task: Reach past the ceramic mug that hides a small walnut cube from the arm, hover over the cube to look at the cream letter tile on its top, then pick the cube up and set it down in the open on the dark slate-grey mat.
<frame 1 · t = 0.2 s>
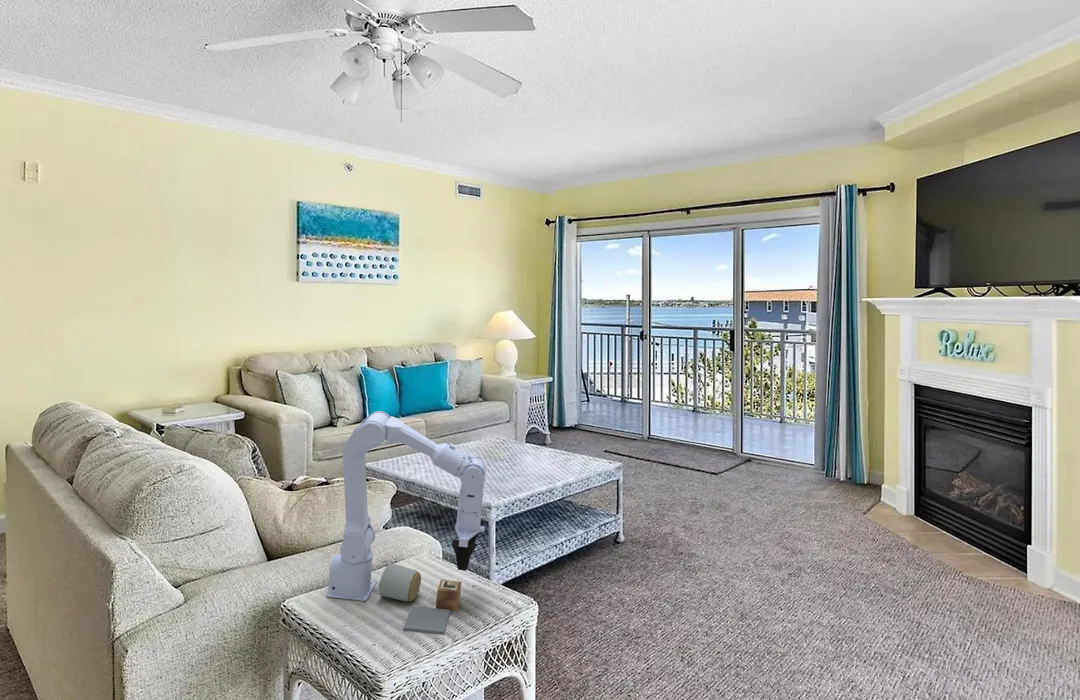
hand: (464, 562, 152), 10 cm above the table, tool pointing down, fingers open, 7 cm apart
ceramic mug: (400, 595, 153), on the table
slate mat: (427, 620, 143), on the table
letter cube: (447, 605, 150), on the table
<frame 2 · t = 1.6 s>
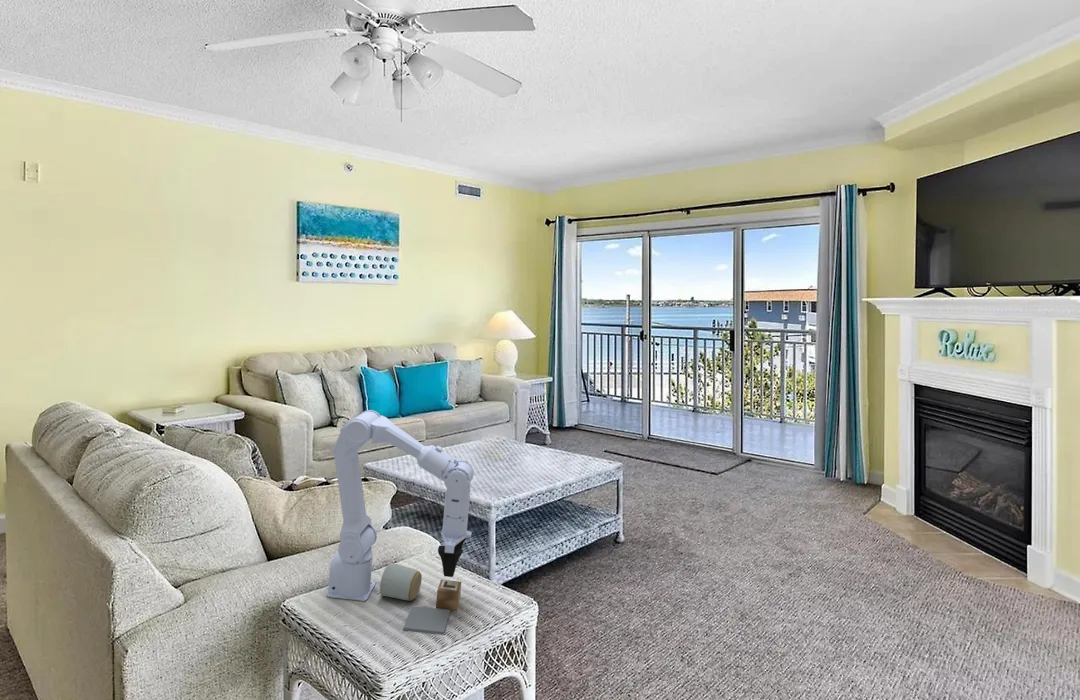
hand: (451, 568, 149), 9 cm above the table, tool pointing down, fingers open, 7 cm apart
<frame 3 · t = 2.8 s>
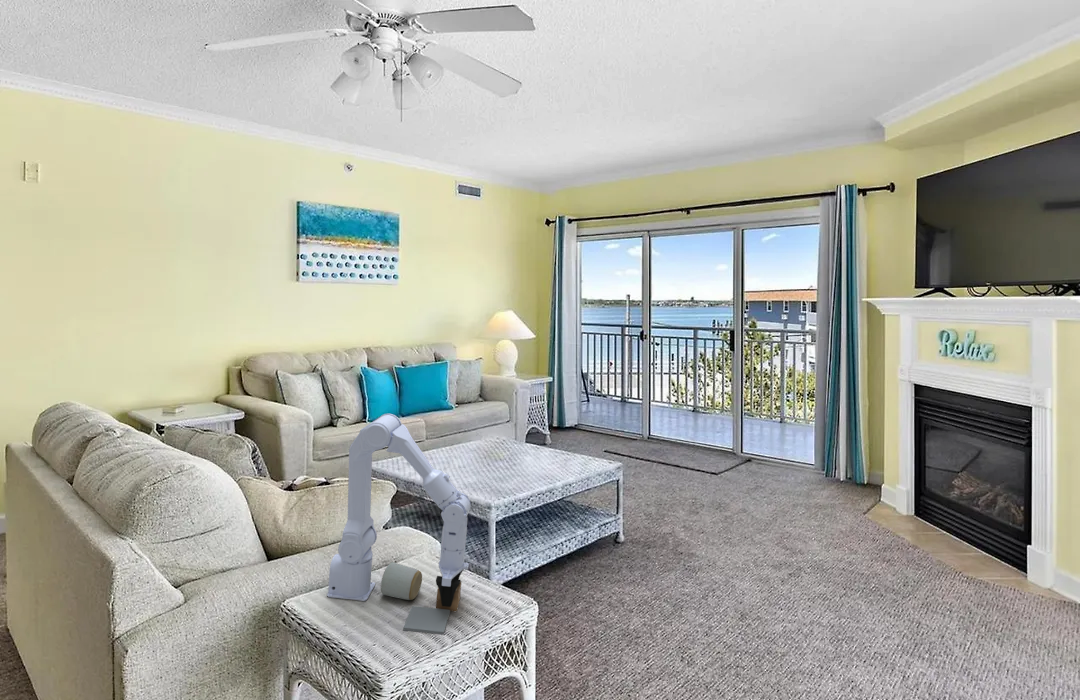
hand: (448, 599, 150), 1 cm above the table, tool pointing down, fingers closed on letter cube, 5 cm apart
letter cube: (447, 605, 150), on the table, touching gripper
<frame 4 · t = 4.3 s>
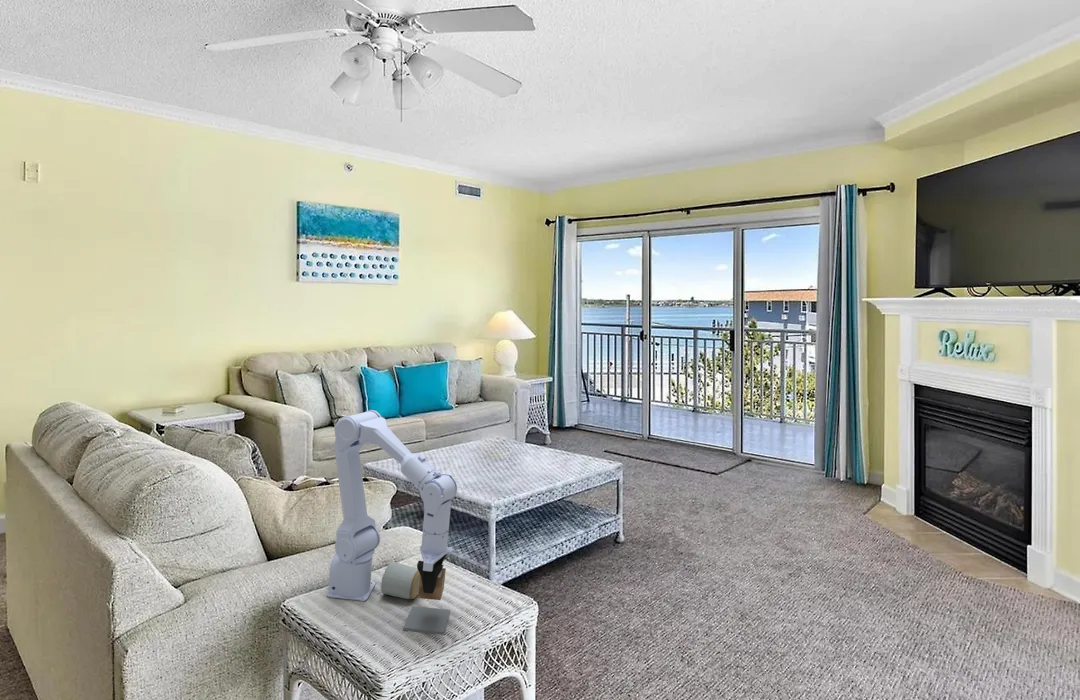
hand: (430, 586, 142), 8 cm above the table, tool pointing down, fingers closed on letter cube, 5 cm apart
letter cube: (431, 593, 142), point 7 cm above the table, touching gripper
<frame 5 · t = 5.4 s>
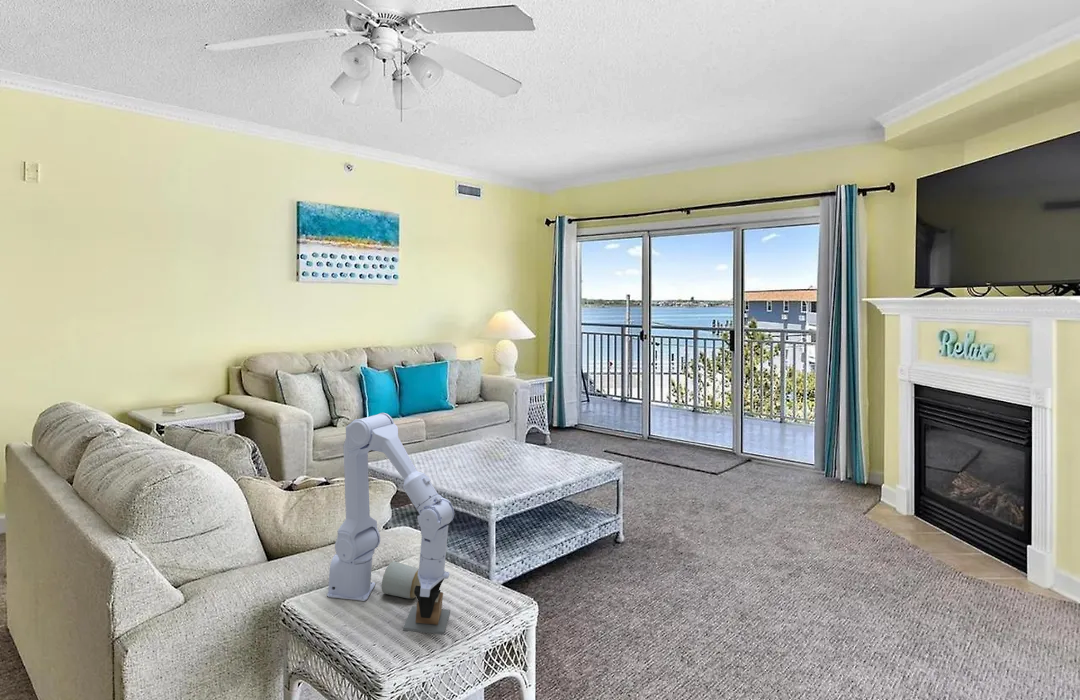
hand: (428, 610, 142), 3 cm above the table, tool pointing down, fingers closed on letter cube, 5 cm apart
letter cube: (428, 617, 142), point 1 cm above the table, touching gripper
when the fingers open (2 cm above the table, at t = 6.0 s): letter cube stays where it is, resting on slate mat.
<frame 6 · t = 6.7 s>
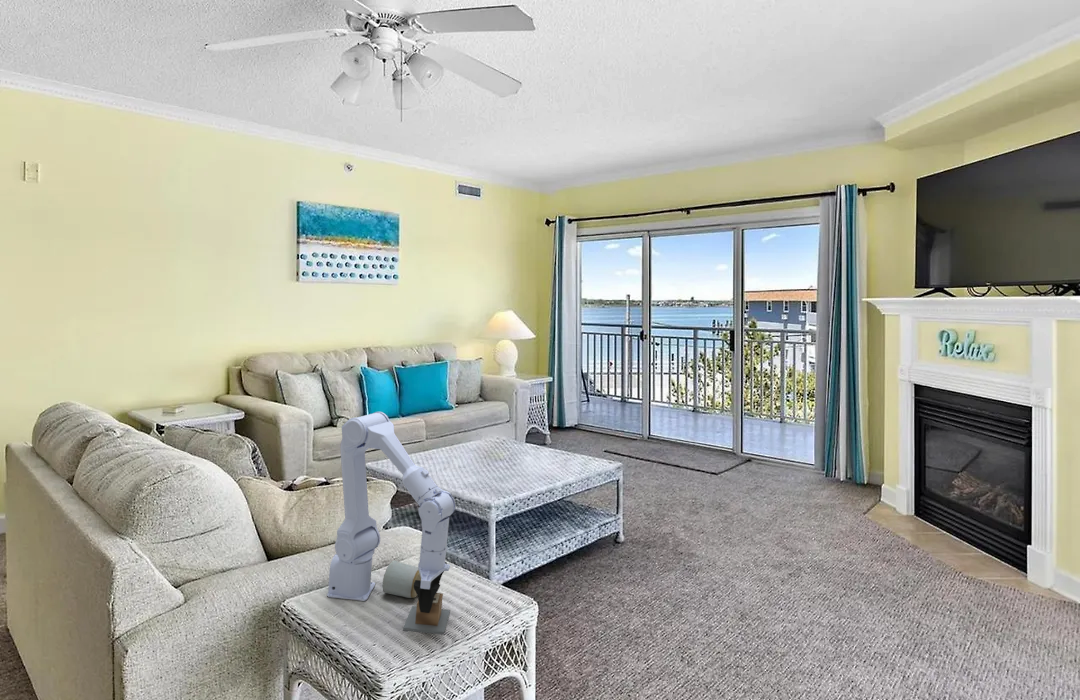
hand: (428, 602, 142), 4 cm above the table, tool pointing down, fingers open, 7 cm apart
letter cube: (428, 618, 142), point 1 cm above the table, touching slate mat
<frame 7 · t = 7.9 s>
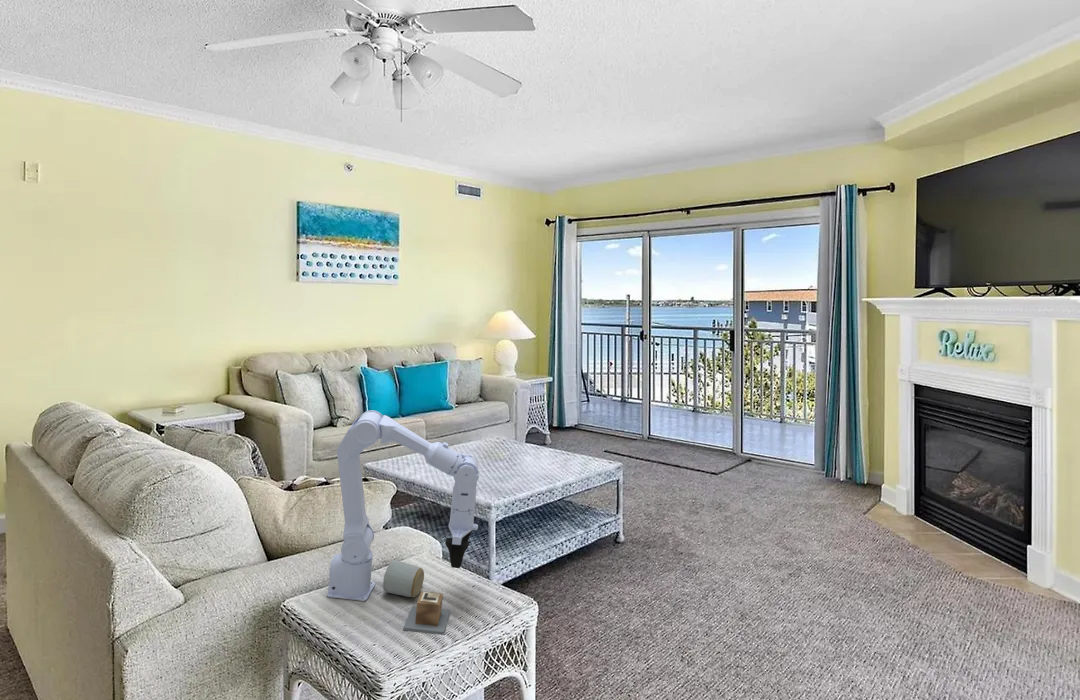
hand: (458, 559, 153), 9 cm above the table, tool pointing down, fingers open, 7 cm apart
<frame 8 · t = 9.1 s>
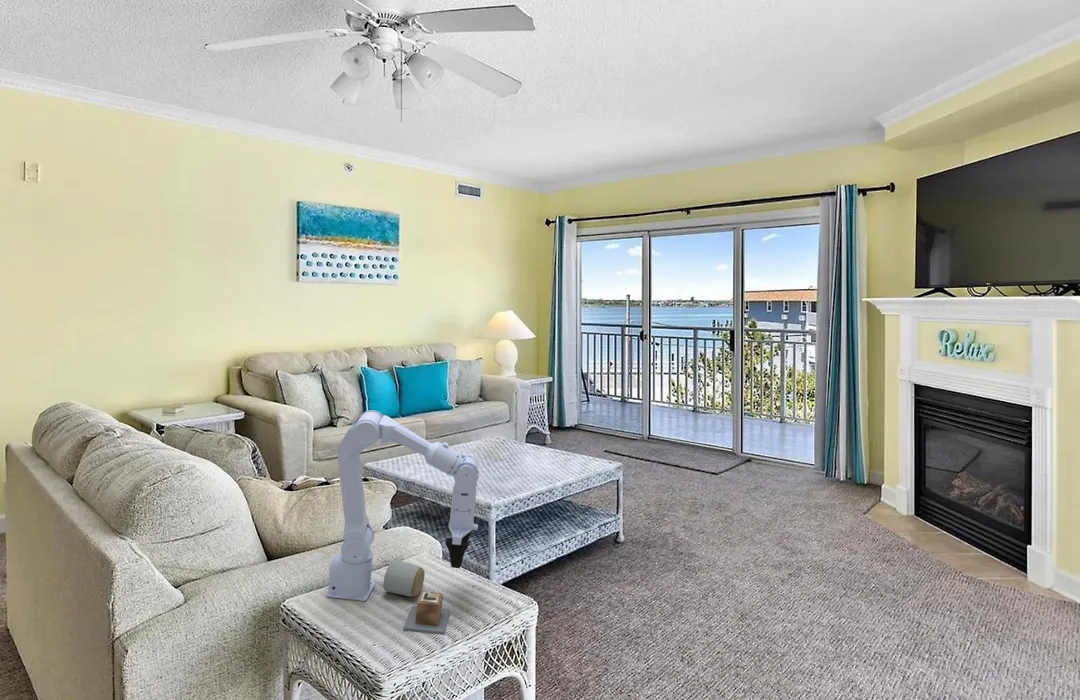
hand: (458, 559, 153), 9 cm above the table, tool pointing down, fingers open, 7 cm apart
at the end: letter cube inside the target area on the slate mat (0.2 cm from its centre), point 0.6 cm above the slate mat's base; letter cube tilted 0°; ceramic mug moved 2.4 cm from its start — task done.
